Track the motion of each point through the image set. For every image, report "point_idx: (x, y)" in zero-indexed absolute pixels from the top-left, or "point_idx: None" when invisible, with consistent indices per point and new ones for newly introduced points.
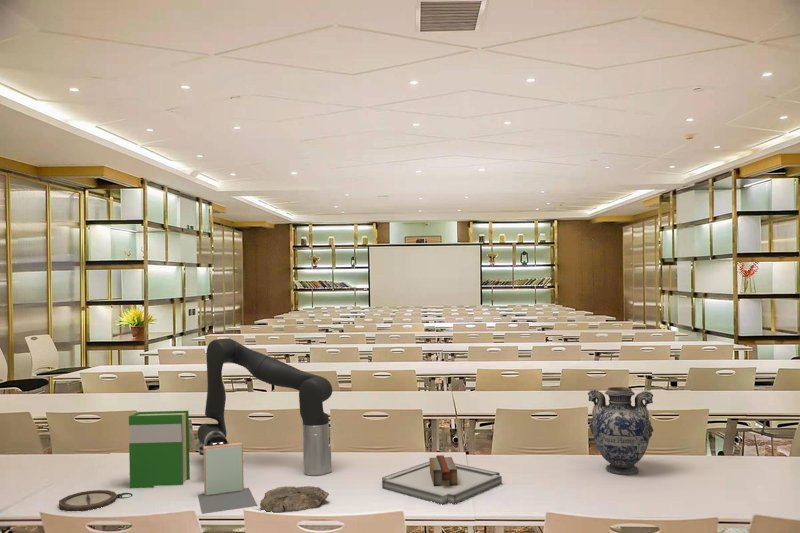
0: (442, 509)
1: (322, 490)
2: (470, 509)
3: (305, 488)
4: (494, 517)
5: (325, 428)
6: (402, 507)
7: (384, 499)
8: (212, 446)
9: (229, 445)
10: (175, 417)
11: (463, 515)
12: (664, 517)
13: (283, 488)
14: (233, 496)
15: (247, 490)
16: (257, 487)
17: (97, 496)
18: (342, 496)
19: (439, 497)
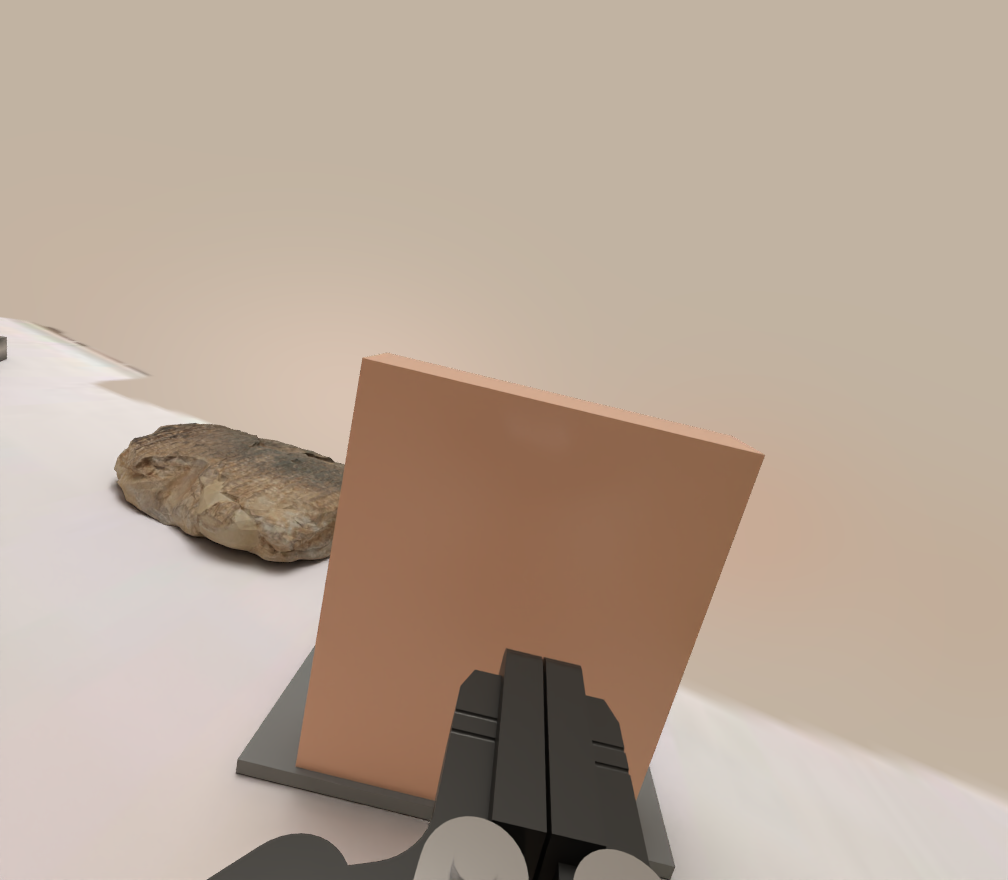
0: (48, 360)
1: (170, 426)
2: (18, 344)
3: (210, 440)
4: (56, 336)
5: None
6: (80, 386)
7: (20, 404)
8: (664, 425)
9: (505, 381)
10: None
11: (73, 350)
12: None
13: (269, 473)
14: None
15: (296, 705)
16: (132, 781)
17: None
18: (51, 457)
19: (2, 343)
